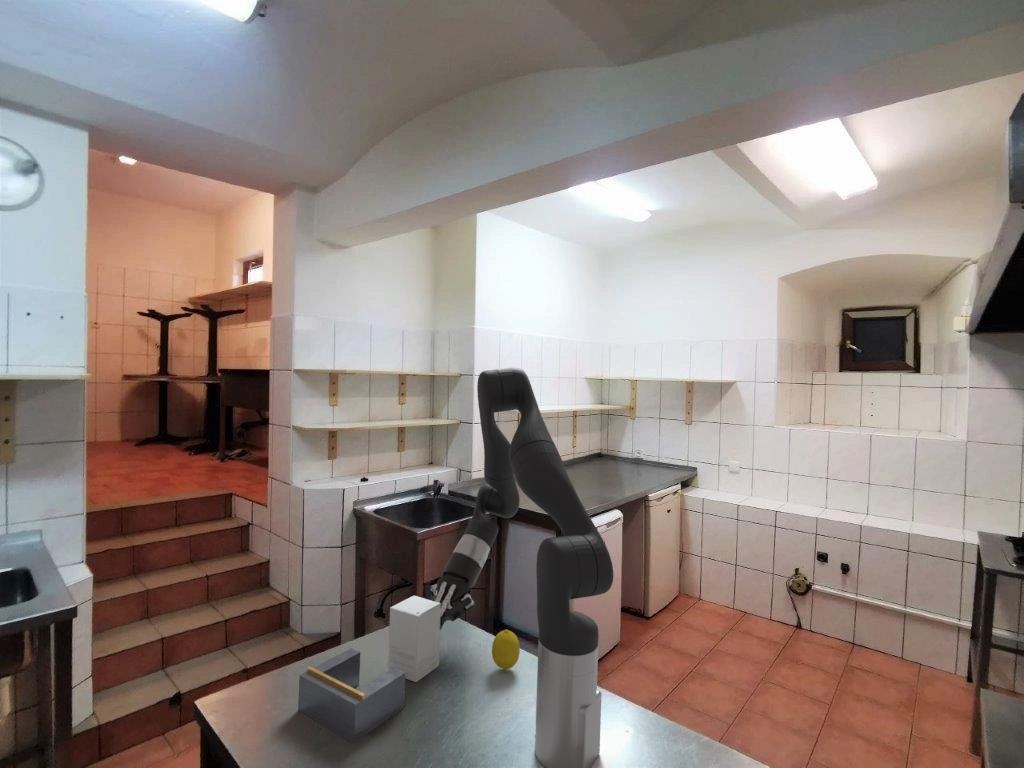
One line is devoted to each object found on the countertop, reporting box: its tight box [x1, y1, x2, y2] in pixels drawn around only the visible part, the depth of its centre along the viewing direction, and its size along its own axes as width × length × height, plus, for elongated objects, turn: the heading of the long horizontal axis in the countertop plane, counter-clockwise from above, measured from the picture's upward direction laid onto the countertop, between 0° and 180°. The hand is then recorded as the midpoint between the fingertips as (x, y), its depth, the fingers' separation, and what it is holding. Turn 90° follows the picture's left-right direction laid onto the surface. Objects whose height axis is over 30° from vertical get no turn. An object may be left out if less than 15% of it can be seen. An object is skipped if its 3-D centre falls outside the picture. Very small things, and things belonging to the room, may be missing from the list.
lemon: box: [491, 629, 521, 672], centre depth 100 cm, size 6×6×8 cm
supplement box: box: [387, 595, 441, 683], centre depth 99 cm, size 7×7×13 cm
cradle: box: [297, 647, 406, 744], centre depth 86 cm, size 14×11×7 cm
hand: (429, 635), depth 103 cm, fingers closed
